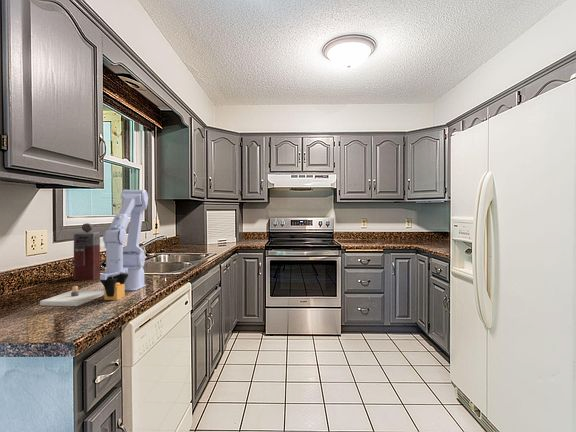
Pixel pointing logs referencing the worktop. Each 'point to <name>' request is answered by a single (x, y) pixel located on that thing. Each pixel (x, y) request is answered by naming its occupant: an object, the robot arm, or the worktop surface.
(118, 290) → the orange cube with dome
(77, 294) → the plate
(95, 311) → the worktop surface
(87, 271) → the glass decanter
